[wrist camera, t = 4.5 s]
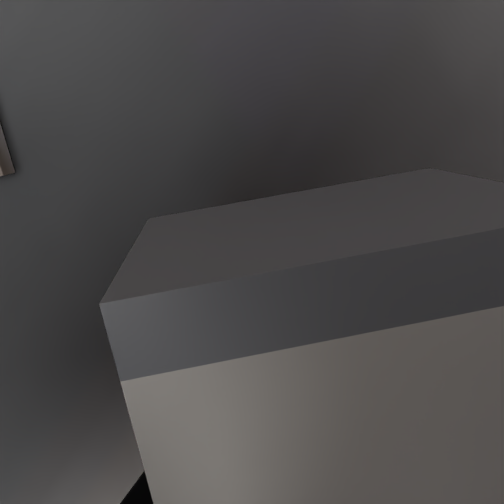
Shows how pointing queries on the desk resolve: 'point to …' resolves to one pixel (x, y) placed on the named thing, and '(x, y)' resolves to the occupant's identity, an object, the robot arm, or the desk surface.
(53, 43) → the desk surface
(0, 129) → the stand
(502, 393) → the block
